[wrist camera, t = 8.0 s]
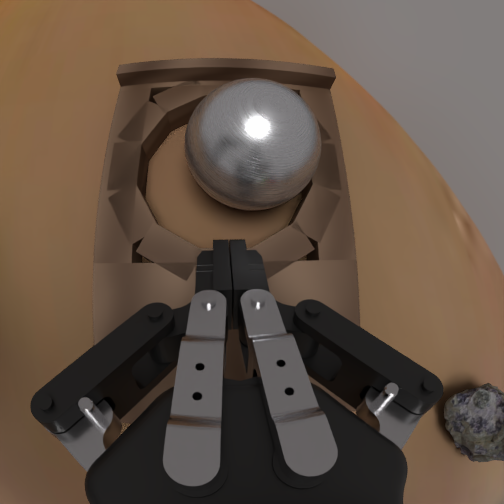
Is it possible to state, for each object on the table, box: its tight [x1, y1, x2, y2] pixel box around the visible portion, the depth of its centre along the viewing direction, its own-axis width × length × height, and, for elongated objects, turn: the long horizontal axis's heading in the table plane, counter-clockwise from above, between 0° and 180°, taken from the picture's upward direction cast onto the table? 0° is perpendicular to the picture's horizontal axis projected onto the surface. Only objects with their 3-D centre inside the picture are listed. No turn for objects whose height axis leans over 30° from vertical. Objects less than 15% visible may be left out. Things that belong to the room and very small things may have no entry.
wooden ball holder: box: [93, 58, 360, 424], centre depth 18 cm, size 16×24×4 cm, turn 2°
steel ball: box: [185, 78, 321, 210], centre depth 17 cm, size 8×8×8 cm
